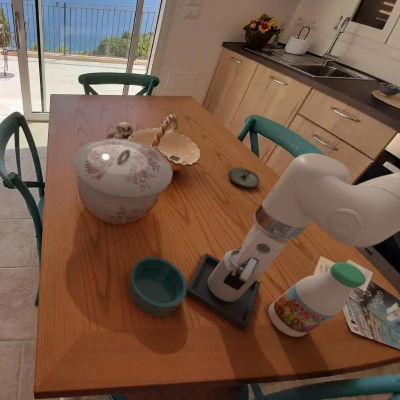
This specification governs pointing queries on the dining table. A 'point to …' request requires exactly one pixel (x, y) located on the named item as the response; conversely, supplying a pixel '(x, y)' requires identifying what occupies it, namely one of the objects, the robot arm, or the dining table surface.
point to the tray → (230, 311)
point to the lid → (244, 177)
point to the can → (221, 273)
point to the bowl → (156, 286)
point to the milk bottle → (315, 299)
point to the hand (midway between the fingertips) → (235, 272)
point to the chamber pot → (120, 178)
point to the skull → (122, 131)
